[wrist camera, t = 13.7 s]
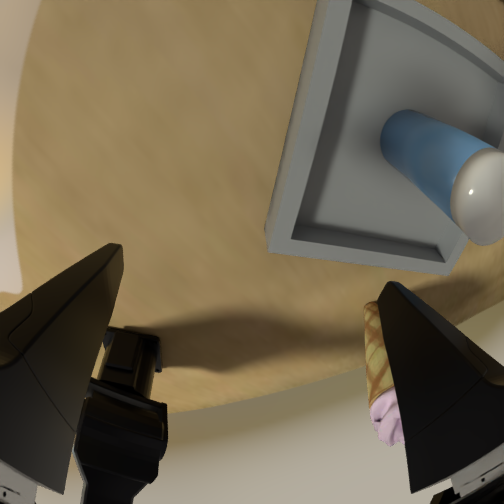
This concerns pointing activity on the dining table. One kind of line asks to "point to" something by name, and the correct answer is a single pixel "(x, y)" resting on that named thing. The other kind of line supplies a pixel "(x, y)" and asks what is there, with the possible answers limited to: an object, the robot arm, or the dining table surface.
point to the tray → (377, 134)
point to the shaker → (449, 171)
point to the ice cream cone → (380, 381)
